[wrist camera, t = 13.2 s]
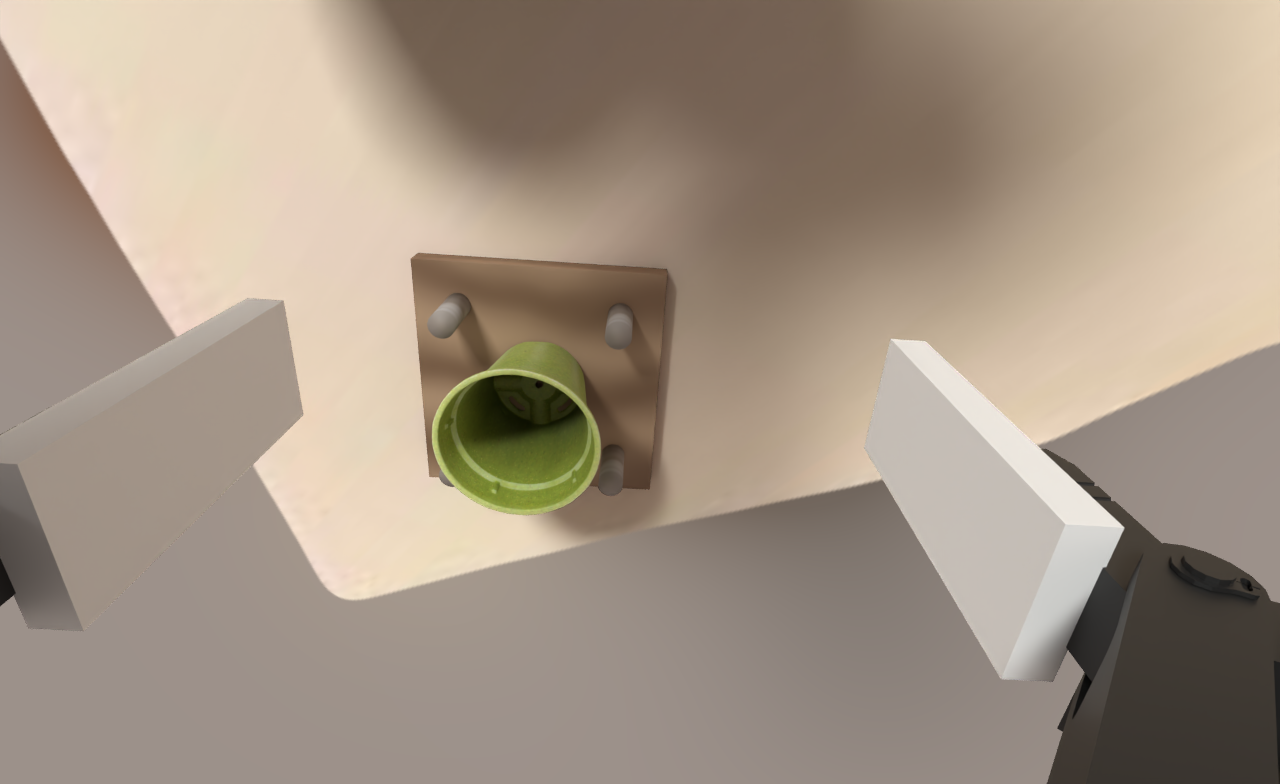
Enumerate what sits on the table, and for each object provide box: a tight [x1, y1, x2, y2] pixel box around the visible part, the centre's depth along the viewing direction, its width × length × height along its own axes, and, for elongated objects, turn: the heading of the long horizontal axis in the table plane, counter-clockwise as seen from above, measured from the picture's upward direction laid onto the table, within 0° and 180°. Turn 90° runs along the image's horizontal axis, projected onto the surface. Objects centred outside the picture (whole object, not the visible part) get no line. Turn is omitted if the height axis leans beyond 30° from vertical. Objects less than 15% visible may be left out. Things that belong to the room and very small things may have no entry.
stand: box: [411, 253, 667, 496], centre depth 44 cm, size 16×16×6 cm
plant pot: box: [432, 342, 601, 515], centre depth 41 cm, size 9×9×9 cm
